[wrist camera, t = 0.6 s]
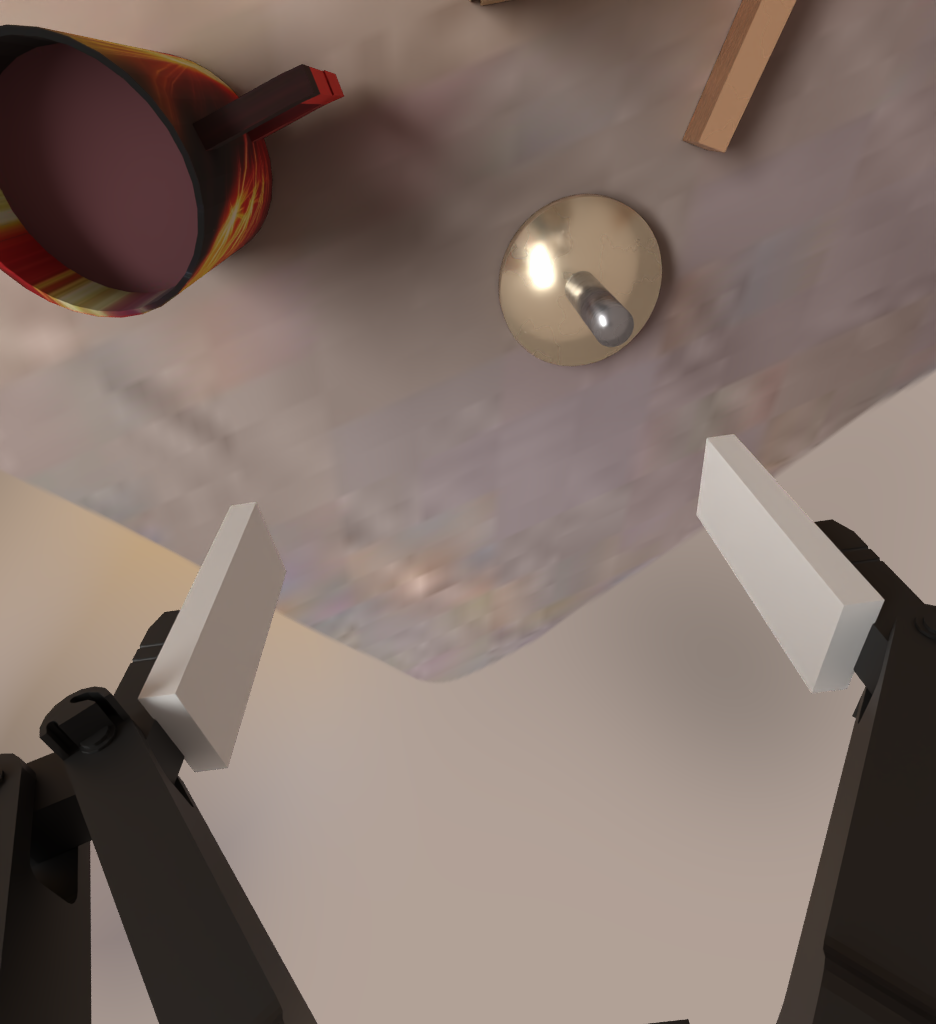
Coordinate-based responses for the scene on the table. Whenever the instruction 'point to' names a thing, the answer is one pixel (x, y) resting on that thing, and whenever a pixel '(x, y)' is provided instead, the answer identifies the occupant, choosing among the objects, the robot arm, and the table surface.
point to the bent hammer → (737, 72)
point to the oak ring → (490, 1)
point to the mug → (130, 167)
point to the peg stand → (580, 279)
